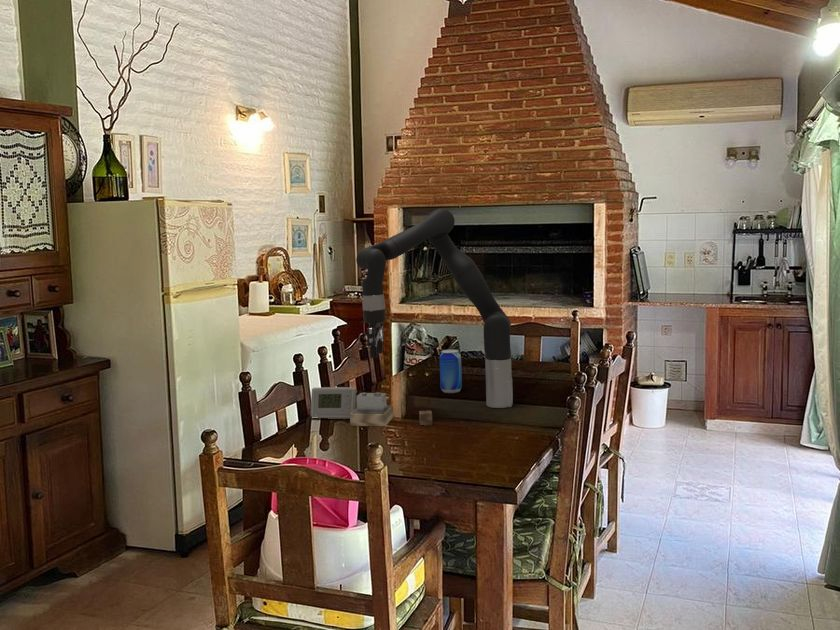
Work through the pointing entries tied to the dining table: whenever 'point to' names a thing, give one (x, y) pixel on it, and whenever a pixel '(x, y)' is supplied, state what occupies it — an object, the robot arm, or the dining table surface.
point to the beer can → (450, 371)
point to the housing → (371, 401)
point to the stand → (371, 417)
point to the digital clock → (333, 402)
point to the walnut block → (425, 417)
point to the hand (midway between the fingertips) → (376, 355)
